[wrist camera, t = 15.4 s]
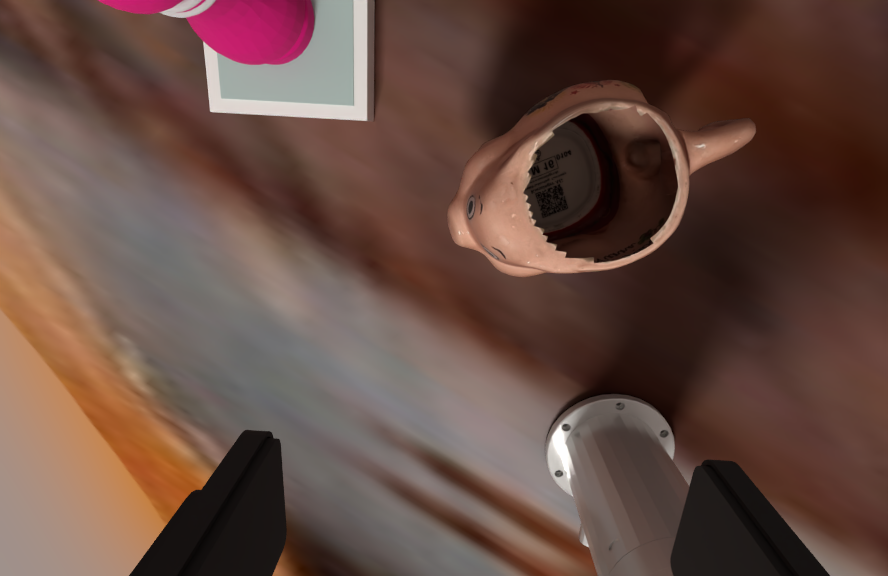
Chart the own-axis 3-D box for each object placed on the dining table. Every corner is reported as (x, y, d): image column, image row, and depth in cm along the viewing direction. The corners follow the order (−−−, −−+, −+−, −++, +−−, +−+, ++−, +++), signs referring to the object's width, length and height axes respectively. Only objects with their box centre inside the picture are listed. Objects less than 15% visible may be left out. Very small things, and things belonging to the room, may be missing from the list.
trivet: (373, 121, 39) (366, 120, 36) (228, 113, 39) (209, 111, 36) (374, -51, 35) (366, -68, 32) (213, -60, 35) (190, -77, 32)
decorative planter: (657, 37, 36) (770, -14, 23) (703, 183, 40) (825, 211, 26) (424, 156, 40) (407, 170, 26) (485, 281, 43) (497, 349, 30)
